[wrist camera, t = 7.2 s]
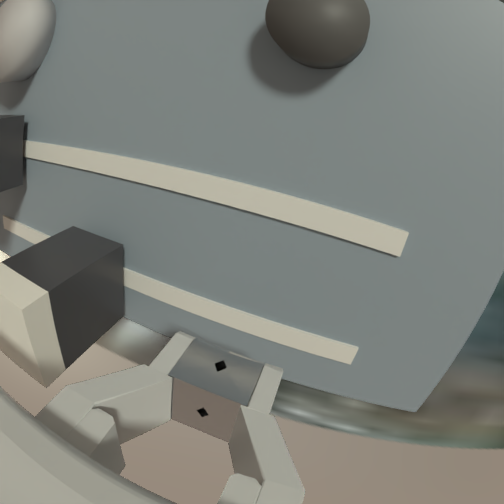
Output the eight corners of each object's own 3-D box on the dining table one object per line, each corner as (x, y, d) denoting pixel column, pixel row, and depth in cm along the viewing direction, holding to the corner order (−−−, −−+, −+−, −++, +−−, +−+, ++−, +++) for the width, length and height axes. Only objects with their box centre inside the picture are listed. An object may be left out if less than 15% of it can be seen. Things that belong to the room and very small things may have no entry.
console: (5, 228, 16) (-35, 247, 13) (21, 7, 10) (-25, 3, 7) (411, 378, 12) (418, 442, 9) (527, 47, 6) (581, 29, 3)
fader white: (78, 292, 12) (0, 350, 8) (73, 225, 11) (-23, 275, 7) (124, 315, 11) (46, 388, 7) (123, 244, 10) (21, 310, 6)
